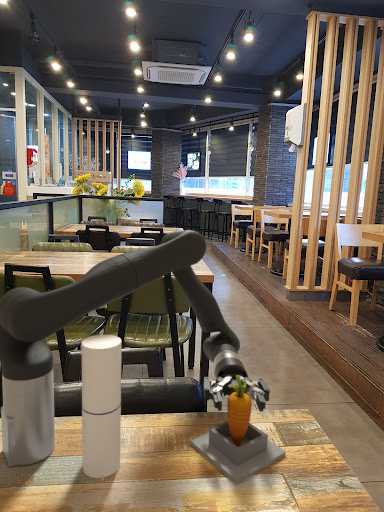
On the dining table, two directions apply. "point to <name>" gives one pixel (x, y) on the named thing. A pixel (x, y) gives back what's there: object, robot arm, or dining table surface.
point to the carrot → (238, 411)
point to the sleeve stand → (238, 451)
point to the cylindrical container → (101, 405)
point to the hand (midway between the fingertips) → (241, 407)
